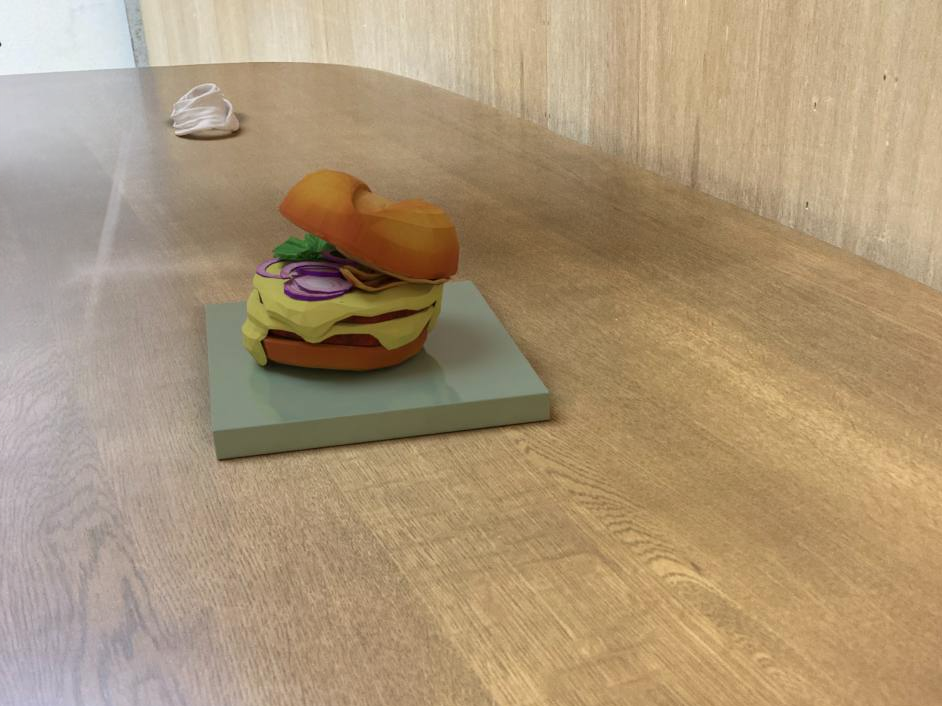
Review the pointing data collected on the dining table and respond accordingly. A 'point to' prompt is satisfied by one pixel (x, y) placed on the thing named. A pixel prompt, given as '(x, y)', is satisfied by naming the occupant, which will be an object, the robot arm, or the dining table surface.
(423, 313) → the cheeseburger
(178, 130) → the whipped cream
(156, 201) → the dining table surface
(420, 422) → the serving slab
